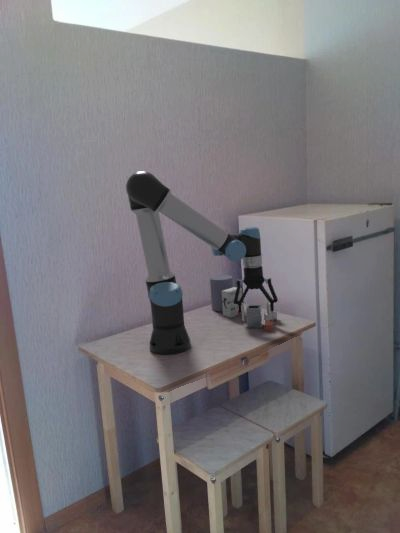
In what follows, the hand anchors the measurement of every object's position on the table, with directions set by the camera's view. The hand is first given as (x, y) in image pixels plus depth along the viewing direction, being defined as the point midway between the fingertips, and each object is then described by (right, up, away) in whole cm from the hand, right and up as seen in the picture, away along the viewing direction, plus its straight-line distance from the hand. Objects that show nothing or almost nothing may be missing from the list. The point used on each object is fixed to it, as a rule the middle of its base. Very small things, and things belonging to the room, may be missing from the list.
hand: (256, 319), depth 193 cm
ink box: (-8, 0, +18) cm, 20 cm away
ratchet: (+5, -2, +1) cm, 6 cm away
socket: (-1, -3, +1) cm, 3 cm away
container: (-13, +2, +29) cm, 32 cm away
